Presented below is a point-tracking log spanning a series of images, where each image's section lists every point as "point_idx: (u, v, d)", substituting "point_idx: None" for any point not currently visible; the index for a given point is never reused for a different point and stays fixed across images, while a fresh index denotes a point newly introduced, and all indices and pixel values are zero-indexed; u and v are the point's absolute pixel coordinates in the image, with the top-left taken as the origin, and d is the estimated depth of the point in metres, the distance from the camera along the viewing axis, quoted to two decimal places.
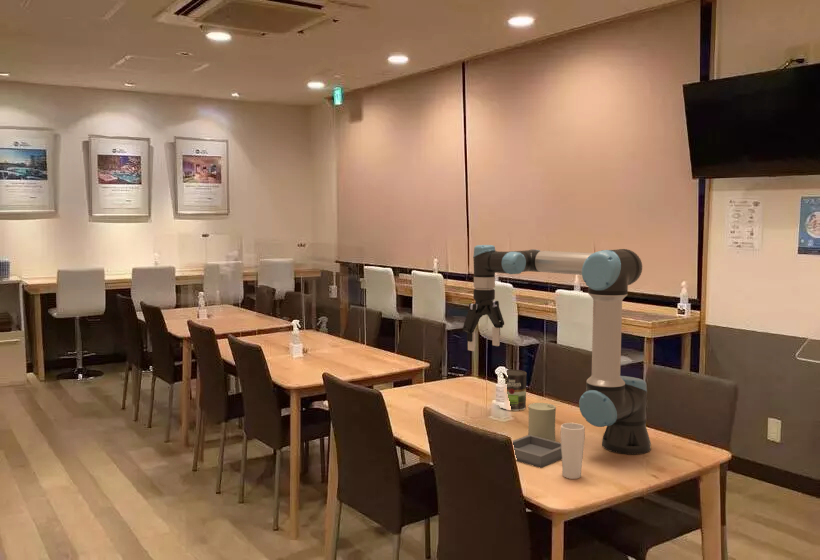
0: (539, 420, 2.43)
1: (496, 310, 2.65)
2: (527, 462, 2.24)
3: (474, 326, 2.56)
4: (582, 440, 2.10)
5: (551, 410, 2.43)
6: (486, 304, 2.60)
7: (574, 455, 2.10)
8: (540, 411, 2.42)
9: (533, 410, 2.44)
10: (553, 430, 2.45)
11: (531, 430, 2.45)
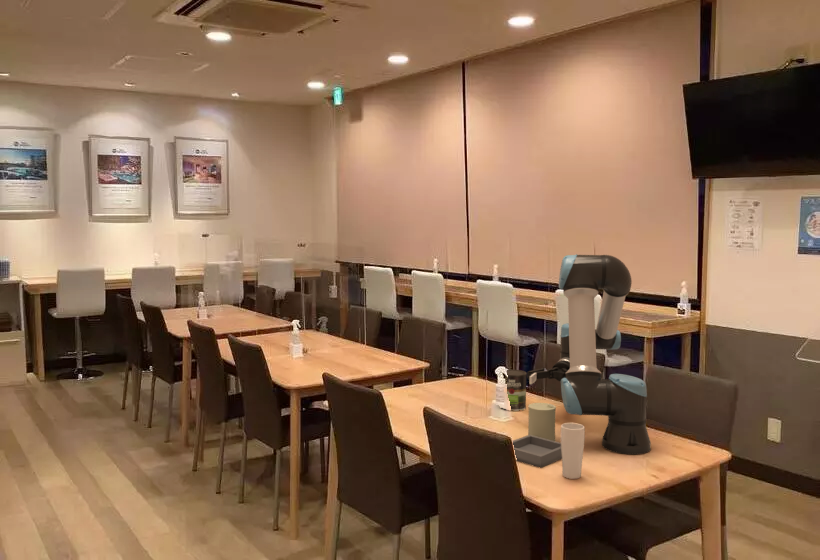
0: (539, 420, 2.43)
1: None
2: (527, 462, 2.24)
3: (537, 372, 2.65)
4: (582, 440, 2.10)
5: (551, 410, 2.43)
6: (560, 369, 2.69)
7: (574, 455, 2.10)
8: (540, 411, 2.42)
9: (533, 410, 2.44)
10: (553, 430, 2.45)
11: (531, 430, 2.45)
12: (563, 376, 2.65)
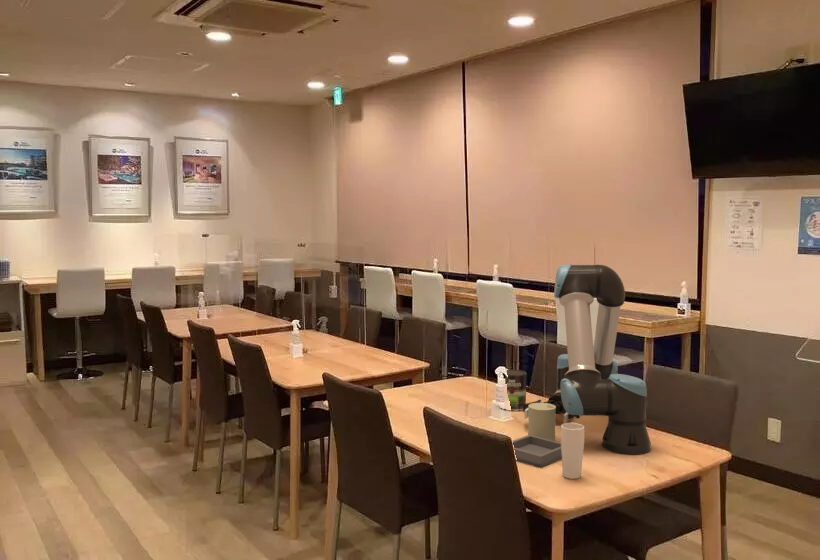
0: (539, 420, 2.43)
1: None
2: (527, 462, 2.24)
3: None
4: (582, 440, 2.10)
5: (551, 410, 2.43)
6: (556, 402, 2.66)
7: (574, 455, 2.10)
8: (540, 411, 2.42)
9: (533, 410, 2.44)
10: (553, 430, 2.45)
11: (531, 430, 2.45)
12: (559, 409, 2.62)
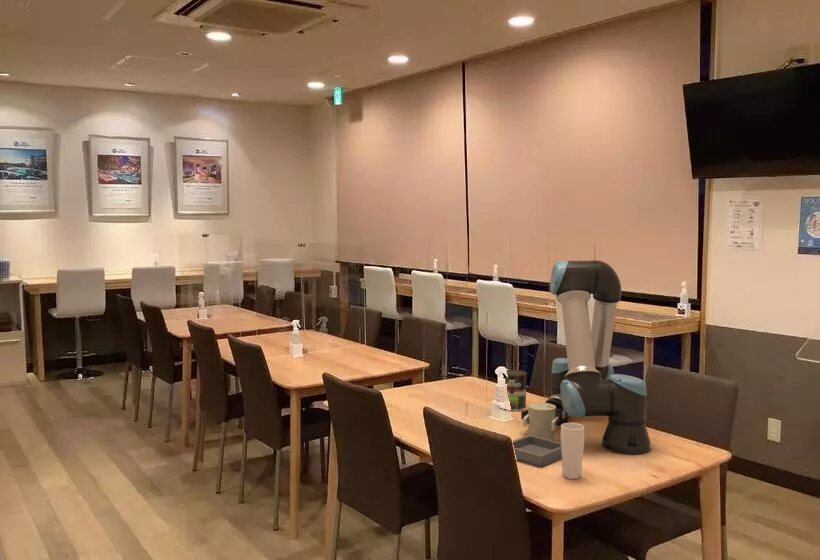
0: (539, 419, 2.43)
1: (564, 414, 2.53)
2: (527, 462, 2.24)
3: None
4: (582, 440, 2.10)
5: (551, 410, 2.43)
6: None
7: (574, 456, 2.10)
8: (540, 411, 2.42)
9: (533, 410, 2.44)
10: (553, 430, 2.45)
11: (531, 430, 2.45)
12: None
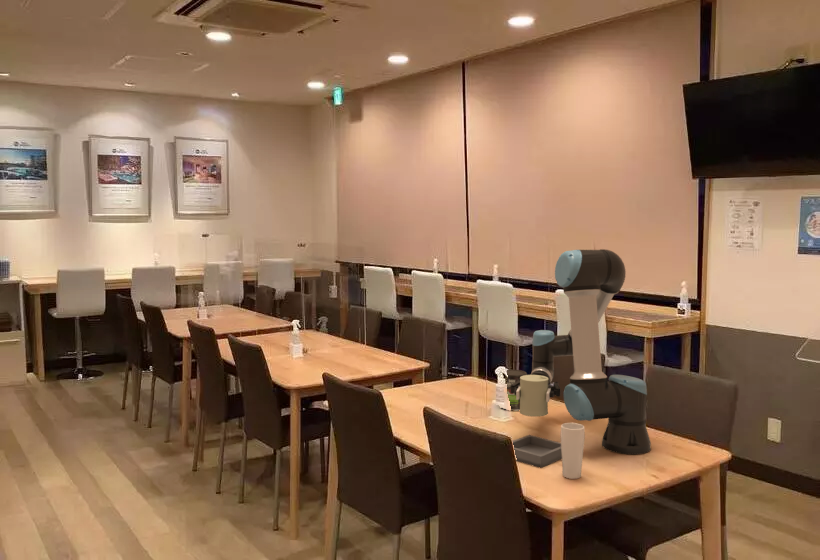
0: (533, 391, 2.34)
1: (553, 386, 2.45)
2: (527, 462, 2.24)
3: None
4: (582, 440, 2.10)
5: (545, 381, 2.35)
6: None
7: (574, 455, 2.10)
8: (534, 382, 2.34)
9: (527, 382, 2.35)
10: (546, 402, 2.37)
11: (524, 403, 2.36)
12: None
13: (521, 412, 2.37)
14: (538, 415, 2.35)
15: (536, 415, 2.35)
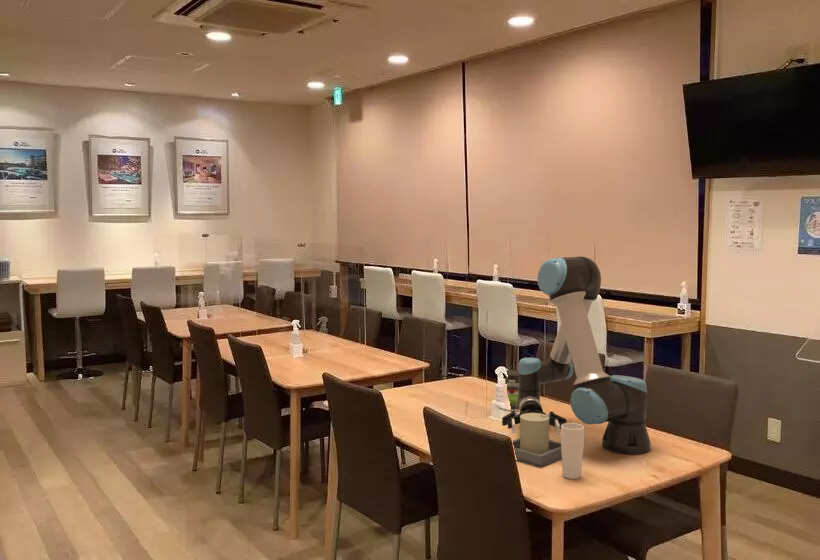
0: (536, 432, 2.26)
1: (552, 416, 2.40)
2: (527, 462, 2.24)
3: (513, 417, 2.36)
4: (582, 440, 2.10)
5: (547, 420, 2.28)
6: (532, 412, 2.43)
7: (574, 455, 2.10)
8: (538, 422, 2.26)
9: (529, 422, 2.27)
10: (548, 441, 2.30)
11: (527, 444, 2.28)
12: None
13: None
14: None
15: None
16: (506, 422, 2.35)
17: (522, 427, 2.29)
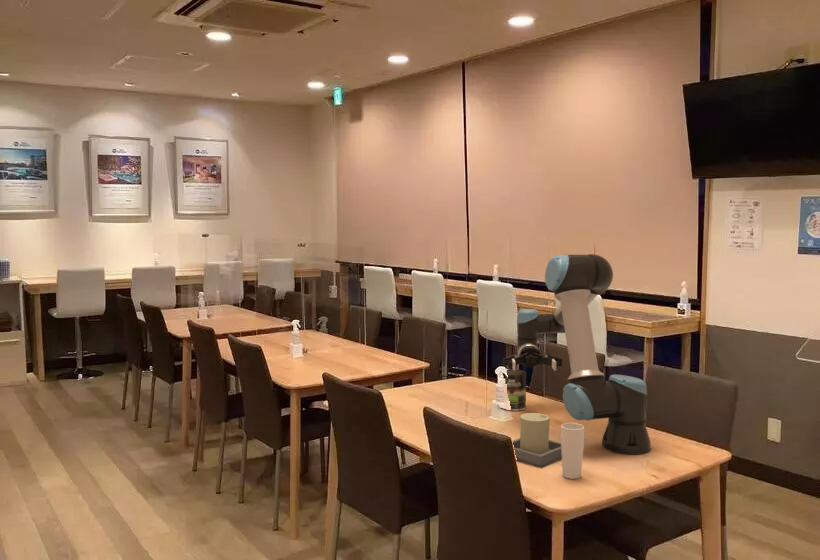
0: (536, 432, 2.26)
1: (549, 358, 2.60)
2: (527, 462, 2.24)
3: (513, 358, 2.57)
4: (582, 440, 2.10)
5: (547, 420, 2.28)
6: (530, 355, 2.63)
7: (574, 455, 2.10)
8: (538, 422, 2.26)
9: (529, 422, 2.27)
10: (548, 441, 2.30)
11: (527, 444, 2.28)
12: (537, 360, 2.60)
13: None
14: None
15: None
16: (507, 362, 2.55)
17: (522, 427, 2.29)
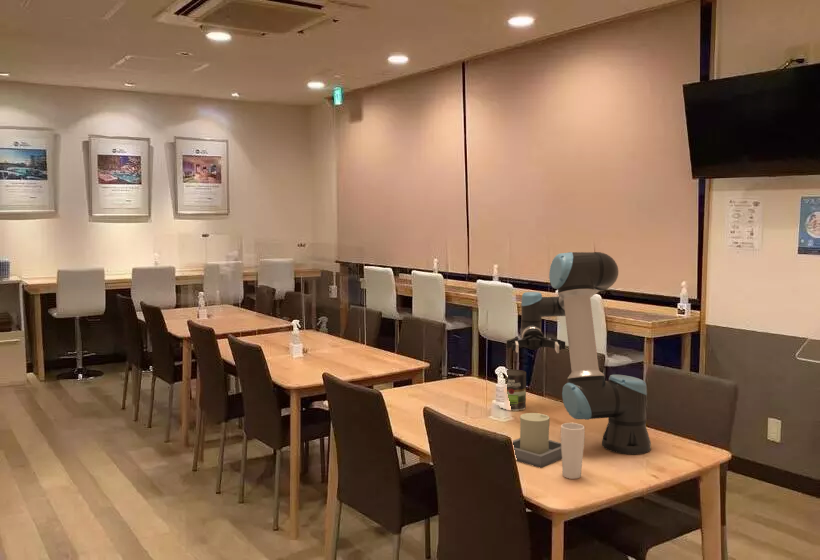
0: (536, 432, 2.26)
1: (552, 340, 2.61)
2: (527, 462, 2.24)
3: (516, 340, 2.58)
4: (582, 440, 2.10)
5: (547, 420, 2.28)
6: (534, 337, 2.65)
7: (574, 455, 2.10)
8: (538, 422, 2.26)
9: (529, 422, 2.27)
10: (548, 441, 2.30)
11: (527, 444, 2.28)
12: (540, 343, 2.61)
13: None
14: None
15: None
16: (510, 344, 2.57)
17: (522, 427, 2.29)
